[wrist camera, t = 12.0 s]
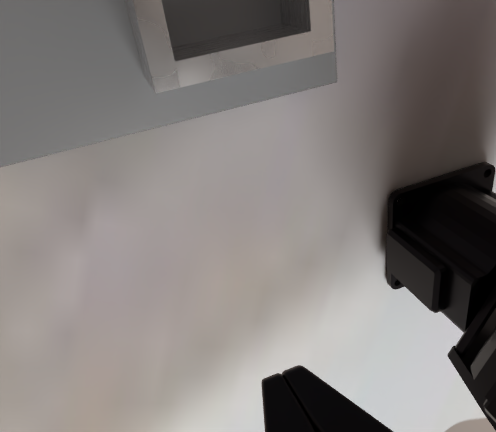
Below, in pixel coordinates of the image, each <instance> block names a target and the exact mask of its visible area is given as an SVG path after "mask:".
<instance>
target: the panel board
mask: <svg viewBox="0 0 496 432" xmlns="http://www.w3.org/2000/svg"><path fill="white" fill-rule="evenodd" d="M161 1H162V5H163V10H164V14H165V19H166V23H167V28H168V32H169V37H170V41H171V46H172V47H174V46H178V45H183V44H188V43H192V42H197V41H202V40H206V39H211V38H215V37H220V36H225V35H229V34H234V33H239V32H243V31H248V30H253V29H257V28H262V27H266V26H271V25H276V24H280V23H281V14H280V4H279V0H161ZM332 15H333V38H334V51H333V52H329V53H325V54H320V55H316V56H312V57H308V58H303V59H299V60H295V61H291V62H287V63H282V64H278V65H274V66H270V67H265V68H261V69H257V70H253V71H248V72H244V73H240V74H236V75H232V76H227V77H223V78H219V79H215V80H210V81H206V82H202V83H198V84H193V85H189V86H185V87H181V88H177V89H172V90H168V91H164V92H160V93H155V91H154V90H153V89H152V87H151V86H150V84H149V83H148V81H147V80H146V79H145V77H144V73H143V70H142V66H141V62H140V58H139V54H138V50H137V46H136V42H135V39H134V35H133V31H132V27H131V23H130V19H129V15H128V12H127V8H126V4H125V0H0V167H3V166H7V165H11V164H15V163H19V162H23V161H27V160H31V159H35V158H39V157H43V156H47V155H51V154H55V153H59V152H63V151H67V150H71V149H75V148H79V147H83V146H86V145H90V144H94V143H98V142H102V141H106V140H110V139H114V138H118V137H122V136H126V135H130V134H134V133H138V132H142V131H146V130H150V129H154V128H158V127H162V126H166V125H170V124H174V123H177V122H181V121H185V120H189V119H193V118H197V117H201V116H205V115H209V114H213V113H217V112H221V111H225V110H229V109H233V108H237V107H241V106H245V105H249V104H253V103H257V102H261V101H265V100H268V99H272V98H276V97H280V96H284V95H288V94H292V93H296V92H300V91H304V90H308V89H312V88H316V87H320V86H324V85H328V84H332V83H336V82H337V67H336V43H335V19H334V0H332Z"/></svg>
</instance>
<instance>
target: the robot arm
mask: <svg viewBox="0 0 496 432" xmlns="http://www.w3.org/2000/svg"><path fill="white" fill-rule="evenodd" d="M494 175H495V167H494V166H493V165H491V164H489V163H487V162H483V163H480V164H477V165H474V166H471V167H467V168H464V169H461V170H458V171H455V172H452V173H449V174H446V175H442V176H439V177H436V178H433V179H430V180H427V181H424V182H420V183H417V184H414V185H411V186H408V187H405V188H402V189H399V190H396V191H394V192H393V193H392V194H391V195H390V197H389V201H388V232H387V251H386V268H387V284H388V285H390V286H391V287H392V288H393V289H399V288H402V287H404V286H405V287H406V288H407V289H408V290H409V291H410V292H411V293H412V294H414V295H415V296H416V297H417V298H418V299H419V300H420V301H421V302H422V303H423V304H424V305H425V306H426V307H427V308H428V309H429V310H431V311H433V312H434V313H437V312H440V311H441V312H442V313H443V314H444V315H445V316H446V317H448V318H449V319H450V320H451V321H452V322H453V323H454V324H455V325H456V326H457V327H458V328H459V329H461V330H462V331H463V332H464V334H463V335H462V337H461V338H460V340H459V341H458V343H457V345H456V346H453V347H452V349H451V350H450V352H449V353H448V357H449V359H450V360H451V362H452V364H453V365H454V367H455V368H456V370H457V372H458V373H459V375H460V376H461V378H462V379H463V381H464V383H465V384H466V386H467V387H468V389H469V391H470V392H471V394H472V395H473V397H474V398H475V400H476V402H477V403H478V405H479V406H480V408H481V410H482V411H483V413H484V414H485V416H486V417H487V419H488V420H489V422H490V423H491V424H492V426H493V427H494V429H495V430H496V193H494V192H492V188H493V181H494ZM399 198H400V200H399V201H398V199H399ZM397 201H398V202H397ZM262 396H263V409H264V423H265V432H393V431H392V430H390V429H389V428H388V427H386V426H385V425H383V424H382V423H381V422H379V421H378V420H377V419H375V418H374V417H372V416H371V415H370V414H368V413H367V412H365V411H364V410H363V409H361V408H360V407H359V406H357V405H356V404H354V403H353V402H352V401H350V400H349V399H348V398H346V397H345V396H343V395H342V394H341V393H339V392H338V391H336V390H335V389H334V388H332V387H331V386H330V385H328V384H327V383H325V382H324V381H323V380H321V379H320V378H319V377H317V376H316V375H314V374H313V373H312V372H310V371H309V370H308V369H306V368H305V367H303V366H300V365H299V366H295V367H293V368H290V369H288V370H285V371H283V373H282V375H281V374H280V373H277V374H275V375H272V376H269V377H267V378H264V379H263V380H262Z"/></svg>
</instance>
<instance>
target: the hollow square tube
mask: <svg viewBox="0 0 496 432" xmlns="http://www.w3.org/2000/svg"><path fill="white" fill-rule="evenodd" d="M125 4H126V8H127V12H128V15H129V19H130V23H131V27H132V31H133V35H134V39H135V42H136V46H137V50H138V54H139V58H140V62H141V66H142V70H143V73H144V77H145V79H146V80H147V81H148V83H149V84H150V86H151V87H152V89H153V90H154V91H155V93H160V92H164V91H168V90H172V89H177V88H181V87H185V86H189V85H193V84H198V83H202V82H206V81H210V80H215V79H219V78H223V77H227V76H232V75H236V74H240V73H244V72H248V71H253V70H257V69H261V68H265V67H270V66H274V65H278V64H282V63H287V62H291V61H295V60H299V59H303V58H308V57H312V56H316V55H320V54H325V53H329V52H333V51H334V38H333V15H332V0H279V4H280V14H281V23H280V24H276V25H271V26H266V27H262V28H257V29H253V30H248V31H243V32H239V33H234V34H229V35H225V36H220V37H215V38H211V39H206V40H202V41H197V42H192V43H188V44H183V45H178V46H174V47H172V46H171V41H170V37H169V32H168V28H167V23H166V19H165V14H164V10H163V5H162V1H161V0H125Z"/></svg>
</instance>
